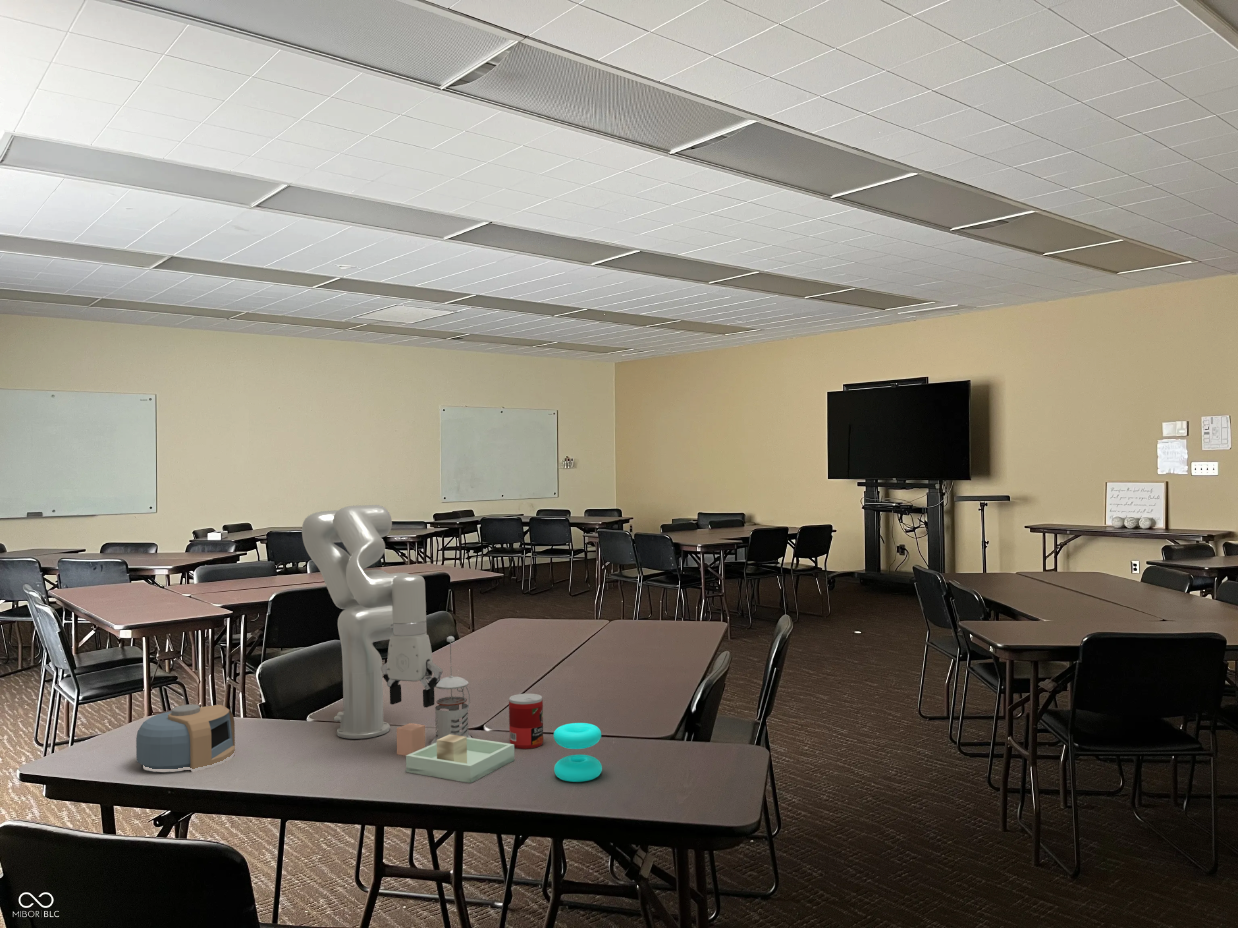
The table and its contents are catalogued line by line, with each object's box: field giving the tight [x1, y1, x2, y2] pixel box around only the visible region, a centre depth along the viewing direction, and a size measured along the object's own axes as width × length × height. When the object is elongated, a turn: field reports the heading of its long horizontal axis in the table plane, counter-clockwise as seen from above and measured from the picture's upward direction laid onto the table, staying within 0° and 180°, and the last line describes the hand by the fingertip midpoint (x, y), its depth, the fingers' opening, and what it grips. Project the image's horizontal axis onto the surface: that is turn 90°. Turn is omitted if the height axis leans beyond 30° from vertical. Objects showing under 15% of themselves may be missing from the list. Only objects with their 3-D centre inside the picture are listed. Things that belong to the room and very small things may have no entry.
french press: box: [431, 635, 473, 745], centre depth 212 cm, size 10×12×25 cm
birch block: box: [437, 734, 467, 763], centre depth 189 cm, size 4×4×6 cm
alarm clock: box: [135, 704, 236, 769], centre depth 200 cm, size 19×20×12 cm
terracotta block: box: [396, 722, 426, 757], centre depth 202 cm, size 4×4×6 cm
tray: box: [405, 737, 515, 784], centre depth 192 cm, size 17×16×4 cm
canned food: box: [508, 693, 544, 750], centre depth 207 cm, size 8×8×11 cm
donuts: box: [553, 722, 603, 783], centre depth 185 cm, size 10×10×10 cm
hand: (412, 704), depth 202 cm, fingers open, 9 cm apart
